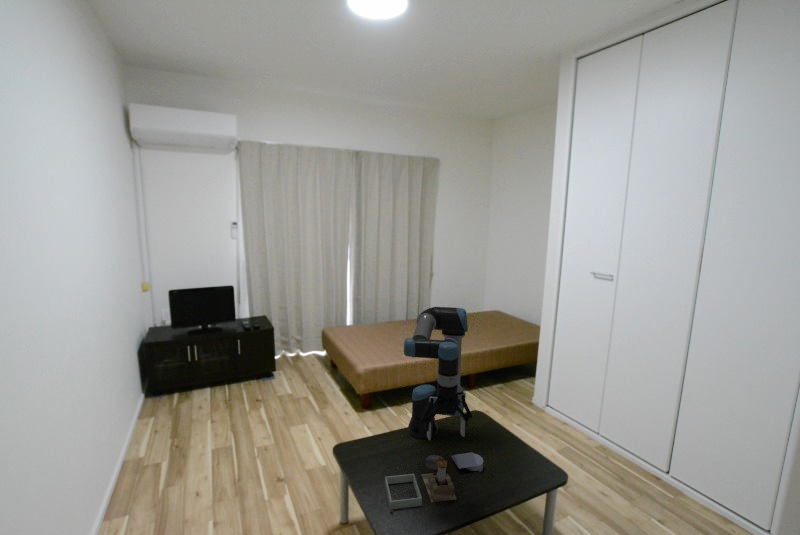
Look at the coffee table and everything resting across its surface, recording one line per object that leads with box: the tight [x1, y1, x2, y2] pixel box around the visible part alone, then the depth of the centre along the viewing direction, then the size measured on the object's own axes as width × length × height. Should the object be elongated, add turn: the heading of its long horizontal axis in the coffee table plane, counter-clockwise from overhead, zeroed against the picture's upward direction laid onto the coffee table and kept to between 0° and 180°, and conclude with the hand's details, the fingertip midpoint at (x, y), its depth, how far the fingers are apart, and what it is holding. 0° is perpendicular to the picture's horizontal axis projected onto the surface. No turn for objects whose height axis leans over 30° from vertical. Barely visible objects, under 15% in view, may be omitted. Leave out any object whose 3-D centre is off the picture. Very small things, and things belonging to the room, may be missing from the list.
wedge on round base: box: [451, 452, 484, 473], centre depth 163 cm, size 9×7×13 cm
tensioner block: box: [421, 454, 457, 503], centre depth 149 cm, size 17×10×9 cm, turn 10°
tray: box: [384, 473, 423, 513], centre depth 144 cm, size 14×12×4 cm
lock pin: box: [437, 458, 448, 486], centre depth 145 cm, size 4×4×13 cm
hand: (445, 436), depth 143 cm, fingers open, 13 cm apart
